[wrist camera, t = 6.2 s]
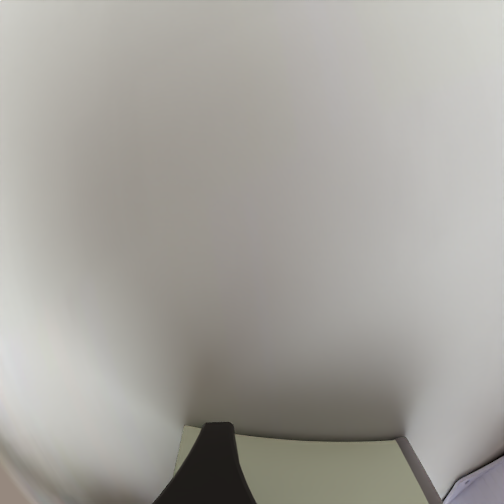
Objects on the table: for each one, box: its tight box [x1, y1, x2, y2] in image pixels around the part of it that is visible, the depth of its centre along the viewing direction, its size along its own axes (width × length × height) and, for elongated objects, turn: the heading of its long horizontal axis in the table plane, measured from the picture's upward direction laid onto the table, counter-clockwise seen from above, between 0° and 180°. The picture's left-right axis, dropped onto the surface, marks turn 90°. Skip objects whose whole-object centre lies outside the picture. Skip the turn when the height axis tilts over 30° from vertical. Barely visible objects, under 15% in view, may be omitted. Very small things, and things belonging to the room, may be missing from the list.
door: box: [173, 425, 443, 504], centre depth 9 cm, size 11×1×6 cm, turn 78°
